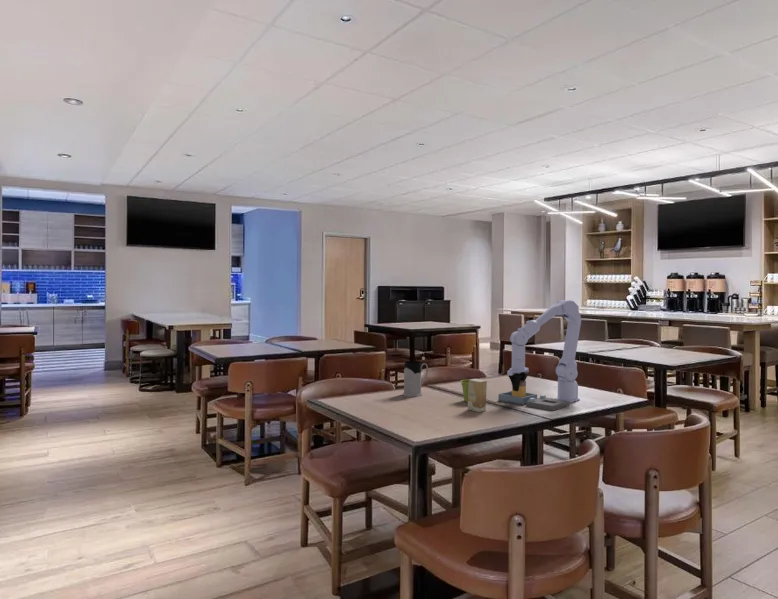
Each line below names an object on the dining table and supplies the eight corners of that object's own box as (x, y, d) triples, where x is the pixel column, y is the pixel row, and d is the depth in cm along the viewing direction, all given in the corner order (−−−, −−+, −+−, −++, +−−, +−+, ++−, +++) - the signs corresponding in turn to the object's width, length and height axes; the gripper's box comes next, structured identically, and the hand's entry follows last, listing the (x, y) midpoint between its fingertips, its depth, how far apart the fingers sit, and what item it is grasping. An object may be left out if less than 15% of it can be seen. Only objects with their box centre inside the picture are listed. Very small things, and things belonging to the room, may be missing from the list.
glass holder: (398, 394, 251) (399, 361, 250) (420, 390, 260) (420, 359, 260) (412, 397, 244) (412, 363, 244) (434, 393, 254) (434, 361, 253)
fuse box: (542, 401, 238) (542, 394, 238) (568, 405, 229) (568, 398, 229) (526, 406, 228) (526, 398, 228) (552, 410, 219) (552, 402, 219)
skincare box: (467, 409, 220) (467, 379, 220) (474, 408, 223) (474, 378, 223) (479, 412, 215) (479, 381, 215) (486, 410, 218) (487, 380, 218)
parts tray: (512, 397, 247) (513, 390, 247) (537, 401, 238) (537, 394, 238) (498, 400, 238) (498, 394, 238) (522, 405, 230) (523, 398, 230)
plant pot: (472, 404, 230) (472, 383, 230) (455, 400, 238) (456, 380, 238) (486, 401, 236) (486, 381, 236) (470, 398, 244) (470, 378, 243)
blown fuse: (515, 395, 241) (515, 379, 240) (525, 397, 237) (526, 381, 237) (512, 396, 238) (512, 380, 238) (522, 398, 235) (522, 382, 235)
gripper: (518, 356, 246) (518, 386, 246) (501, 359, 235) (500, 391, 236) (533, 358, 241) (532, 389, 241) (515, 361, 230) (515, 393, 231)
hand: (517, 390), depth 238 cm, fingers closed on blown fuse, 3 cm apart
